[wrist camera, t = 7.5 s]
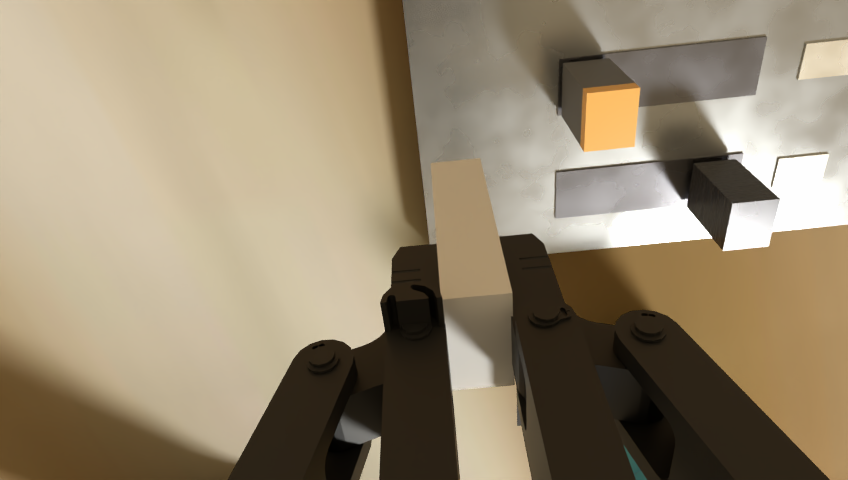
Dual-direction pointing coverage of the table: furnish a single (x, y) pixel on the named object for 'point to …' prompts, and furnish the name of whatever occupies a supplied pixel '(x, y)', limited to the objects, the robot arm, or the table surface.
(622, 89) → the block
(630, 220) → the panel
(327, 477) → the robot arm
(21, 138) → the table surface
